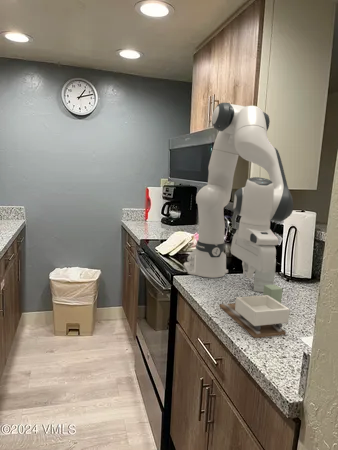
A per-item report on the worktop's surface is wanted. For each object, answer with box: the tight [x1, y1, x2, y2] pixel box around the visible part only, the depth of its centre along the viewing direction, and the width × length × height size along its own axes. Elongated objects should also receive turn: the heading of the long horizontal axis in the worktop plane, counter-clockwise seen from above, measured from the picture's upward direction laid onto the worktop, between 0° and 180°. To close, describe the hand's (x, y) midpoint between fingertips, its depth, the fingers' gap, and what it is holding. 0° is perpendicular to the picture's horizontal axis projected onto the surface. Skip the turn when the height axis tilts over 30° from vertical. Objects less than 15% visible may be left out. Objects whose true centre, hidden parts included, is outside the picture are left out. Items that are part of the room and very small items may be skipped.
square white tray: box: [235, 294, 291, 330], centre depth 101 cm, size 11×11×6 cm
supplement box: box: [253, 257, 277, 293], centre depth 135 cm, size 7×7×13 cm
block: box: [262, 284, 284, 304], centre depth 121 cm, size 4×4×6 cm
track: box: [219, 302, 287, 339], centre depth 107 cm, size 22×10×1 cm, turn 18°
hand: (247, 277), depth 106 cm, fingers closed
